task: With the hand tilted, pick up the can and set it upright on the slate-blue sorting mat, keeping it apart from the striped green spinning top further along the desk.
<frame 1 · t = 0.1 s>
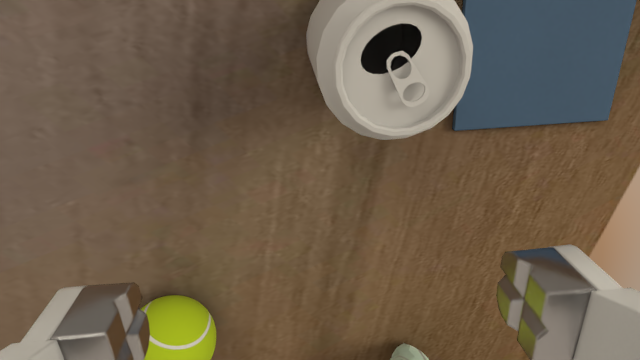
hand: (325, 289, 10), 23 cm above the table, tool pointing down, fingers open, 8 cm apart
tennis ball: (181, 308, 39), on the table
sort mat: (544, 27, 31), on the table
can: (359, 37, 30), on the table
striped green spinning top: (402, 346, 43), on the table
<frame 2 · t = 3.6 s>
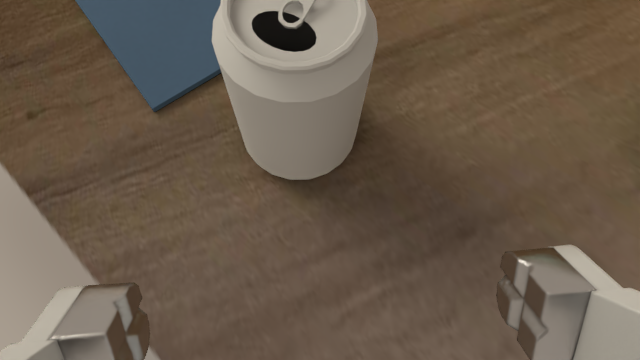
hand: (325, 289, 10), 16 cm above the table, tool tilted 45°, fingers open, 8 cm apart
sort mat: (196, 6, 33), on the table
can: (299, 133, 30), on the table
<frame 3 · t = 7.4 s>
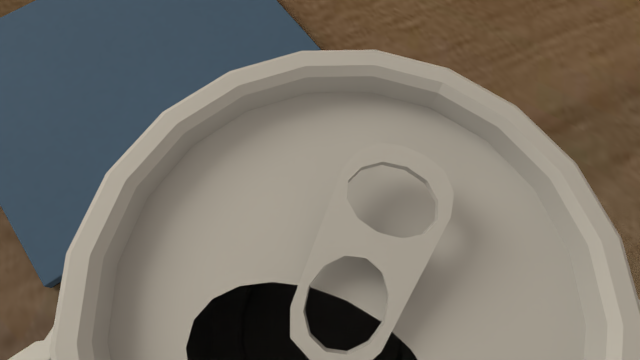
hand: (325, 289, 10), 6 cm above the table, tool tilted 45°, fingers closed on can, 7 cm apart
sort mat: (140, 77, 19), on the table
can: (321, 327, 16), on the table, touching gripper
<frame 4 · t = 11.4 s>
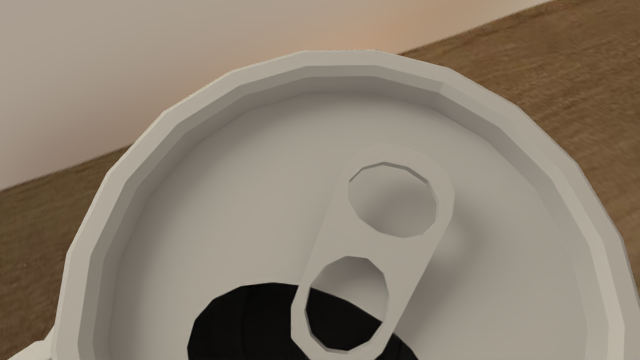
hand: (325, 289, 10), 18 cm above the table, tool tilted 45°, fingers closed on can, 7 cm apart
can: (322, 327, 16), point 11 cm above the table, touching gripper
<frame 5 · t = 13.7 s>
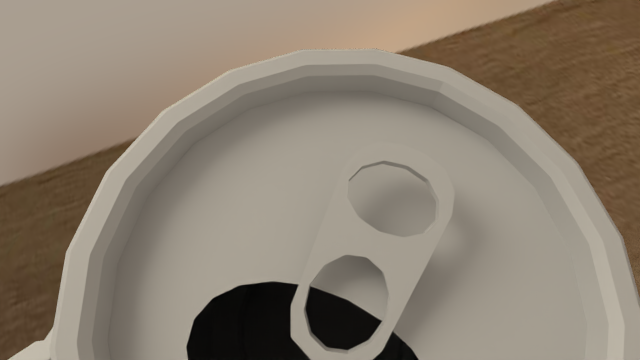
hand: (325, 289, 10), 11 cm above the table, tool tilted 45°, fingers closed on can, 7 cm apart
can: (321, 327, 16), point 5 cm above the table, touching gripper
when the fingers open (7 cm above the table, at t = 15.7 s): can stays where it is, resting on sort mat.
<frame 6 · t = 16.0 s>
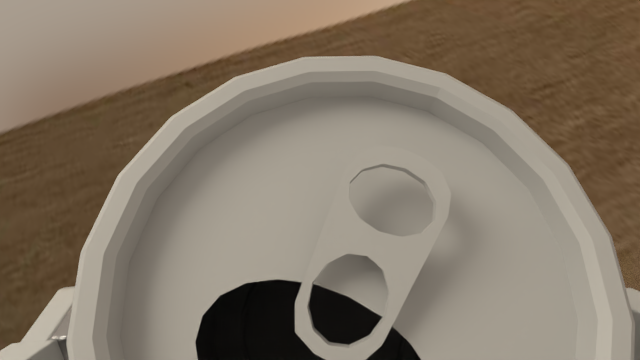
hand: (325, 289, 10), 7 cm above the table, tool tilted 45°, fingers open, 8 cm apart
can: (323, 326, 16), resting on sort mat
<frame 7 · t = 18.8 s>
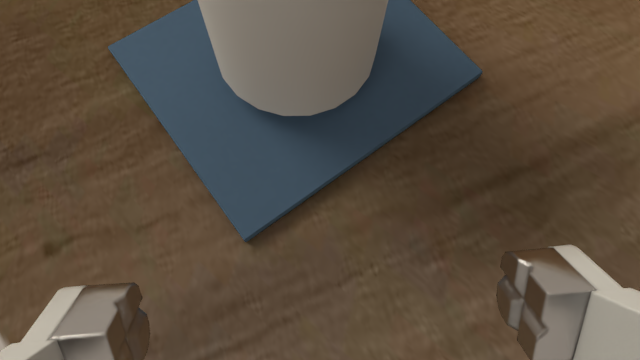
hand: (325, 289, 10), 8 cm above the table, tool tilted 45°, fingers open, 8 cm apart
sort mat: (295, 65, 22), on the table
can: (296, 60, 22), resting on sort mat
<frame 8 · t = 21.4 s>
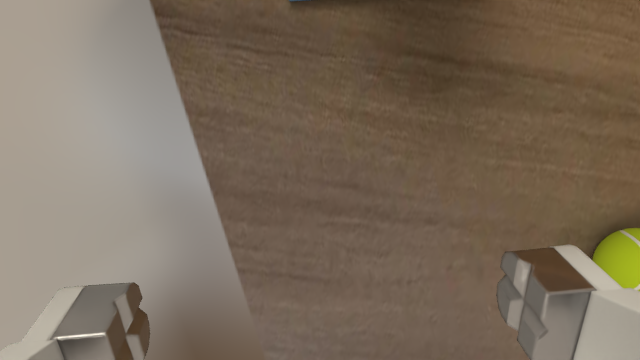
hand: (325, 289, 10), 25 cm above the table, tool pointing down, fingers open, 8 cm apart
tennis ball: (610, 245, 42), on the table
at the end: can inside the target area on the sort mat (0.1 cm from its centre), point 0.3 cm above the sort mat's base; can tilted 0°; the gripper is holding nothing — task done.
